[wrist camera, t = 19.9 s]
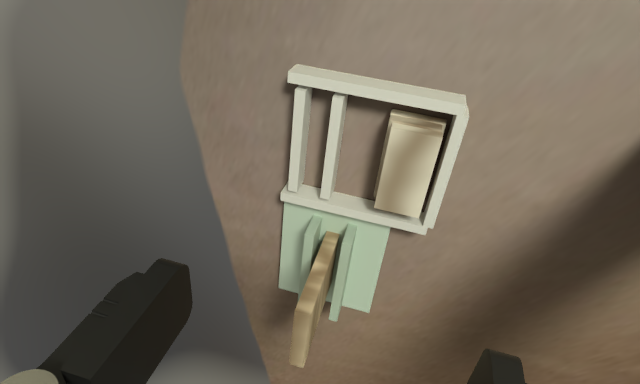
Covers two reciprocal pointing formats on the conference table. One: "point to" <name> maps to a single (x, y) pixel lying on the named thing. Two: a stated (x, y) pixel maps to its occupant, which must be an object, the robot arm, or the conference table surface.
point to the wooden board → (313, 300)
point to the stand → (351, 258)
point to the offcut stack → (407, 162)
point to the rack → (301, 117)
